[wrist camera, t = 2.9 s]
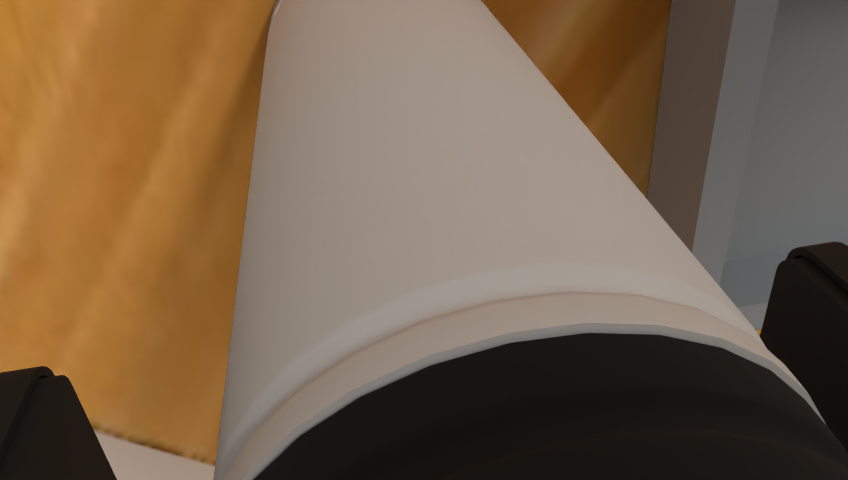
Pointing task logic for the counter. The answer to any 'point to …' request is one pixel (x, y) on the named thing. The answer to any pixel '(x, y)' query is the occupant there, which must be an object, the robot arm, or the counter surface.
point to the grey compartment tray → (753, 136)
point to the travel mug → (474, 281)
